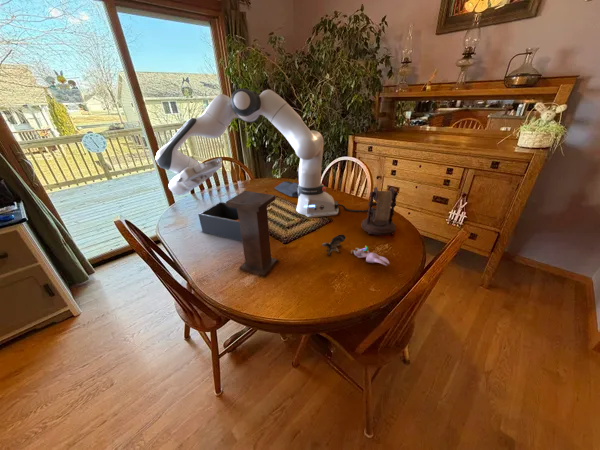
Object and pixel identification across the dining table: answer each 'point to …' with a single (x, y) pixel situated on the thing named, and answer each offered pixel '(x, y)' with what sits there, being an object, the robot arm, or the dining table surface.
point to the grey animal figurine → (334, 243)
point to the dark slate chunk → (288, 188)
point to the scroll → (381, 213)
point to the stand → (254, 231)
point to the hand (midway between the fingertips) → (212, 161)
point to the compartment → (221, 221)
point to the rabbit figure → (370, 256)
